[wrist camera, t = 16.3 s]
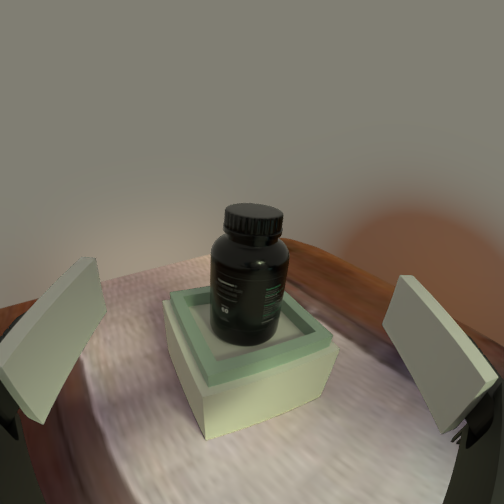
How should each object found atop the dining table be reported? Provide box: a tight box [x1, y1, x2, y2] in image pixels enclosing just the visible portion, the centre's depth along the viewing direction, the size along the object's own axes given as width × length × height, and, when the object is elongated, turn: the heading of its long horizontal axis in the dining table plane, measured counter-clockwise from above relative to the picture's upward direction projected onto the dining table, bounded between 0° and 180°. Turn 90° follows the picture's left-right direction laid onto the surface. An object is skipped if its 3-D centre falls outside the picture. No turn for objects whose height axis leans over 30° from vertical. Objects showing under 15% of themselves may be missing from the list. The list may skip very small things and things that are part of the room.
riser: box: [162, 286, 340, 440], centre depth 29 cm, size 14×14×10 cm
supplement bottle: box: [210, 203, 289, 347], centre depth 25 cm, size 7×7×12 cm
